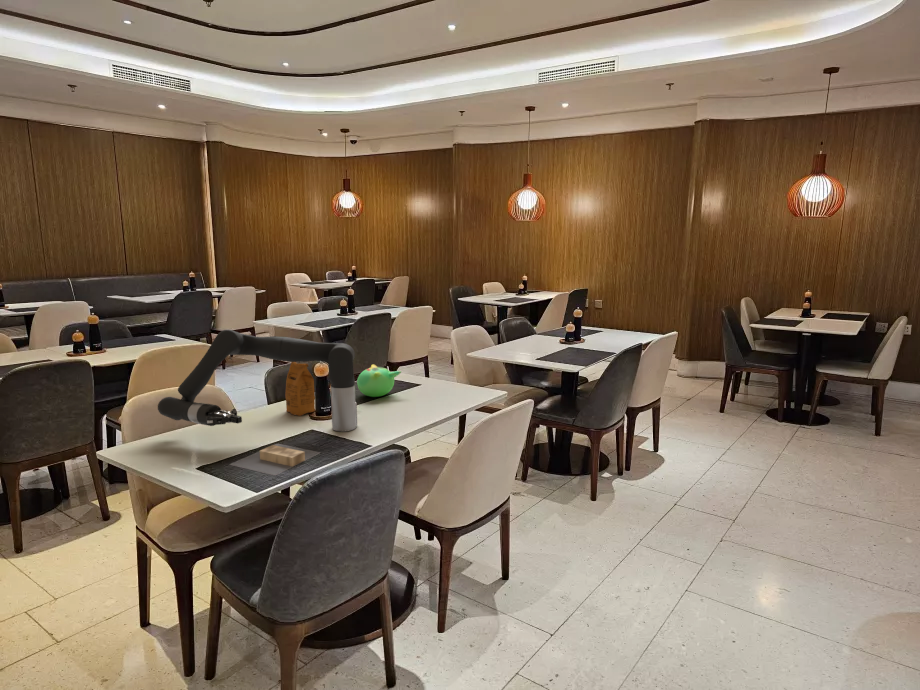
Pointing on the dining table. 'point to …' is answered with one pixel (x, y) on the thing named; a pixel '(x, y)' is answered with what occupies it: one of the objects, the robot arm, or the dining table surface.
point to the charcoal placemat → (269, 467)
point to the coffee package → (299, 390)
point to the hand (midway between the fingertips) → (240, 420)
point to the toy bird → (376, 381)
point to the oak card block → (282, 455)
